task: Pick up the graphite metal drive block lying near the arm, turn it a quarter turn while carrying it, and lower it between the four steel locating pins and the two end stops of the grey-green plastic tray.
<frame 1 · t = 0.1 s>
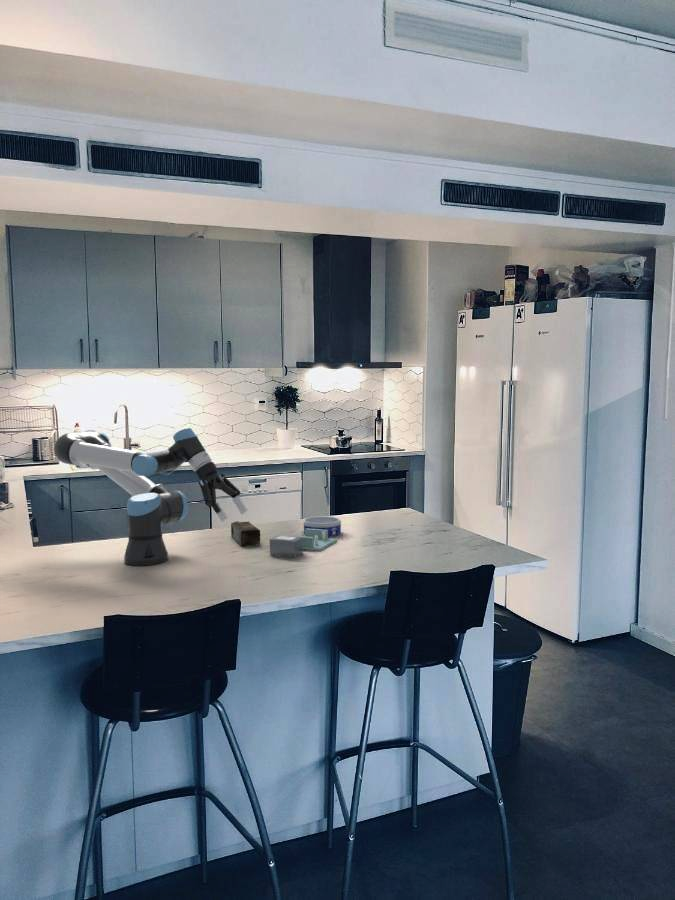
hand: (235, 516, 258), 15 cm above the countertop, tool tilted 35°, fingers open, 13 cm apart
beverage carton: (245, 541, 287), on the countertop
drive: (286, 554, 265), on the countertop
pin tray: (309, 544, 278), on the countertop
dog bowl: (322, 534, 297), on the countertop
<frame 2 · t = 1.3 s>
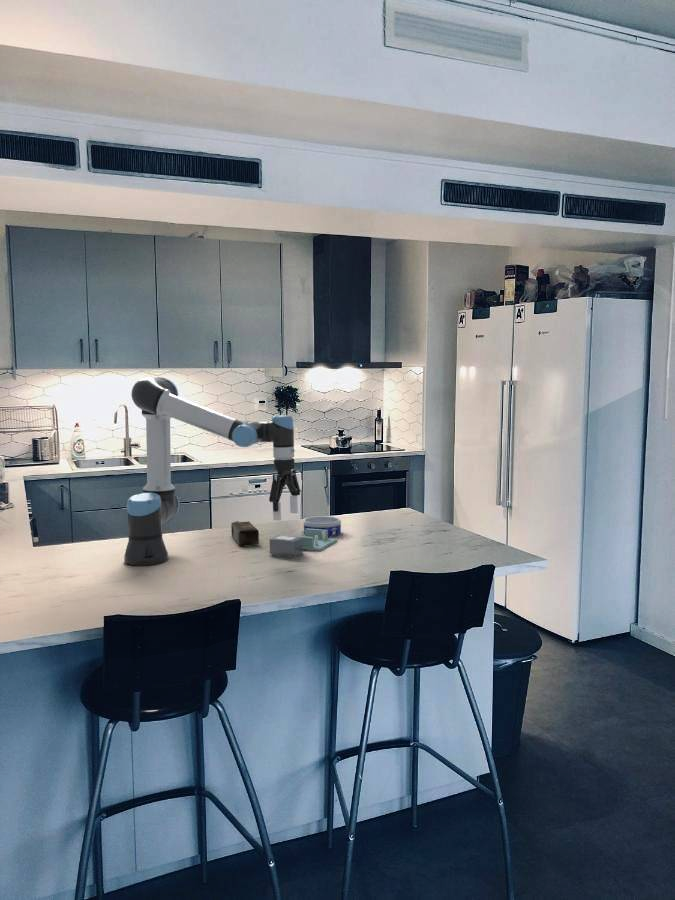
hand: (285, 516, 263), 14 cm above the countertop, tool pointing down, fingers open, 13 cm apart
nothing on the countertop moved.
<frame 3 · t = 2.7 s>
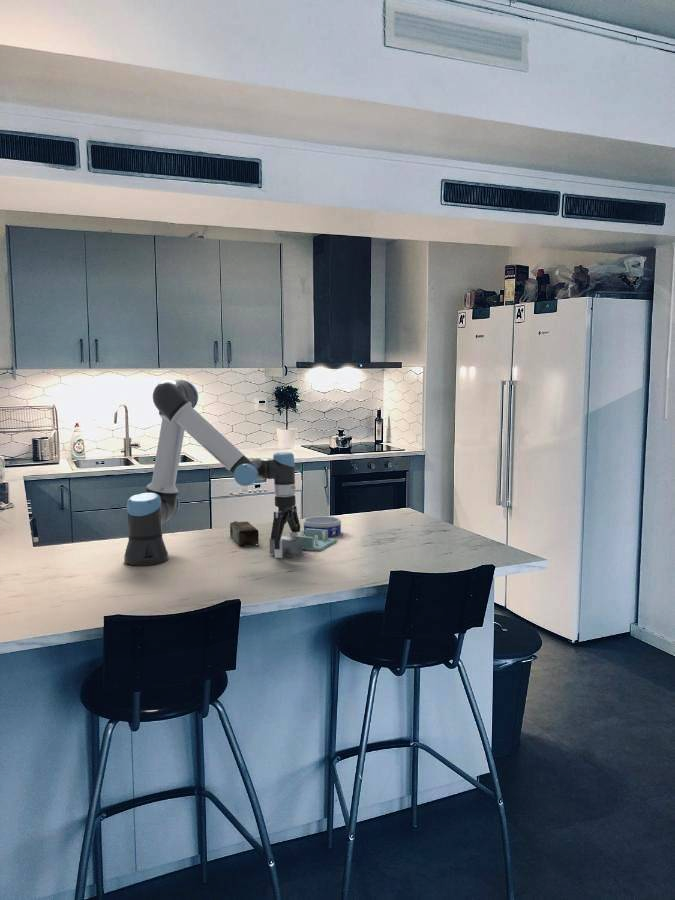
hand: (286, 553, 264), 0 cm above the countertop, tool pointing down, fingers open, 12 cm apart
nothing on the countertop moved.
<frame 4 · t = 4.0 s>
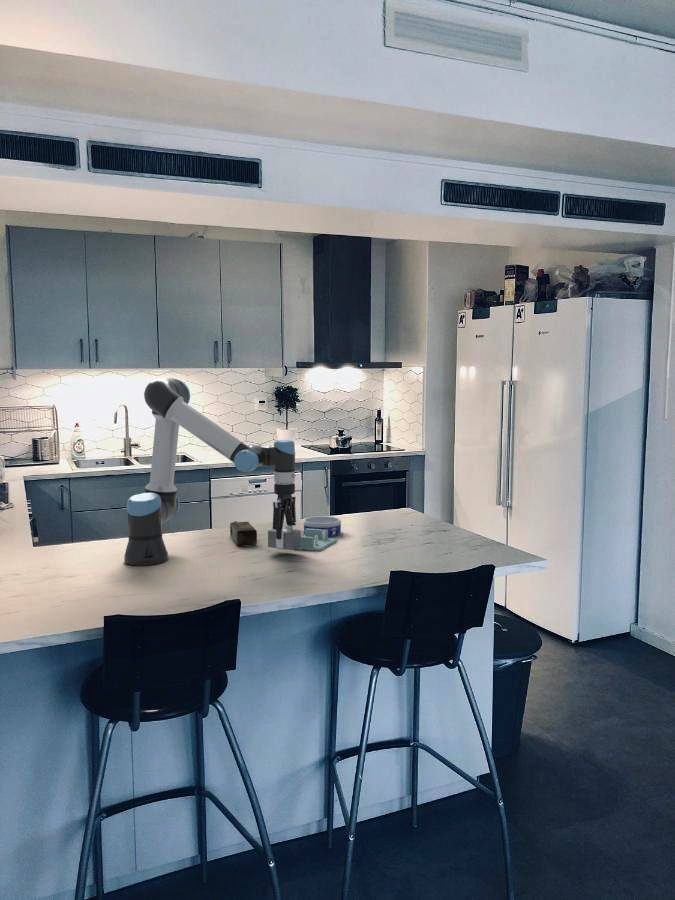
hand: (284, 545, 264), 3 cm above the countertop, tool pointing down, fingers closed on drive, 7 cm apart
drive: (284, 546, 264), point 3 cm above the countertop, touching gripper
everything else where it was.
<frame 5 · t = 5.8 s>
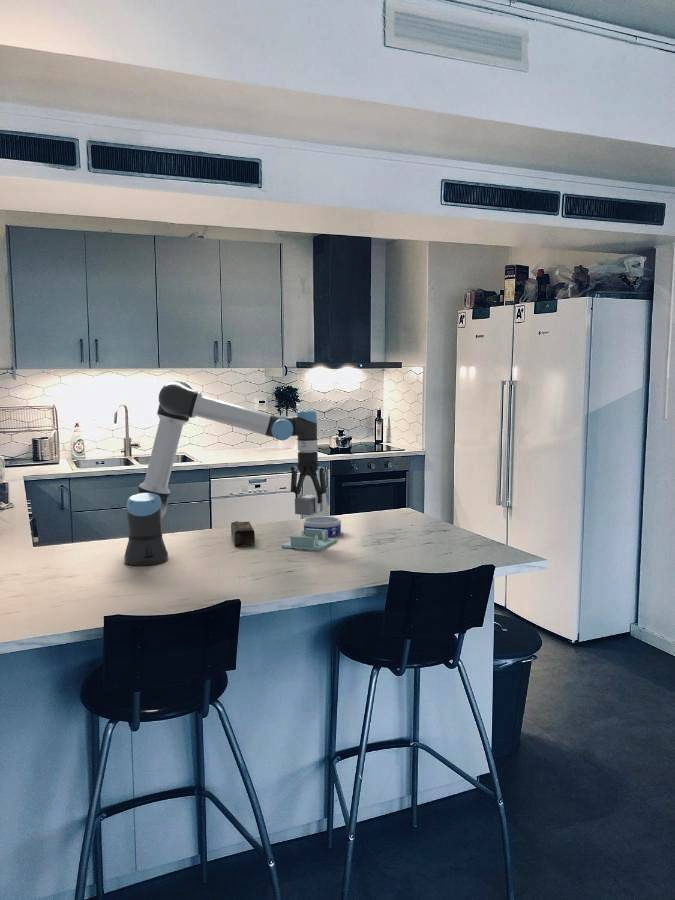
hand: (308, 511, 277), 13 cm above the countertop, tool pointing down, fingers closed on drive, 7 cm apart
drive: (308, 512, 277), point 13 cm above the countertop, touching gripper
when the fingers open (1 cm above the countertop, at t = 7.8 s): drive stays where it is, resting on pin tray.
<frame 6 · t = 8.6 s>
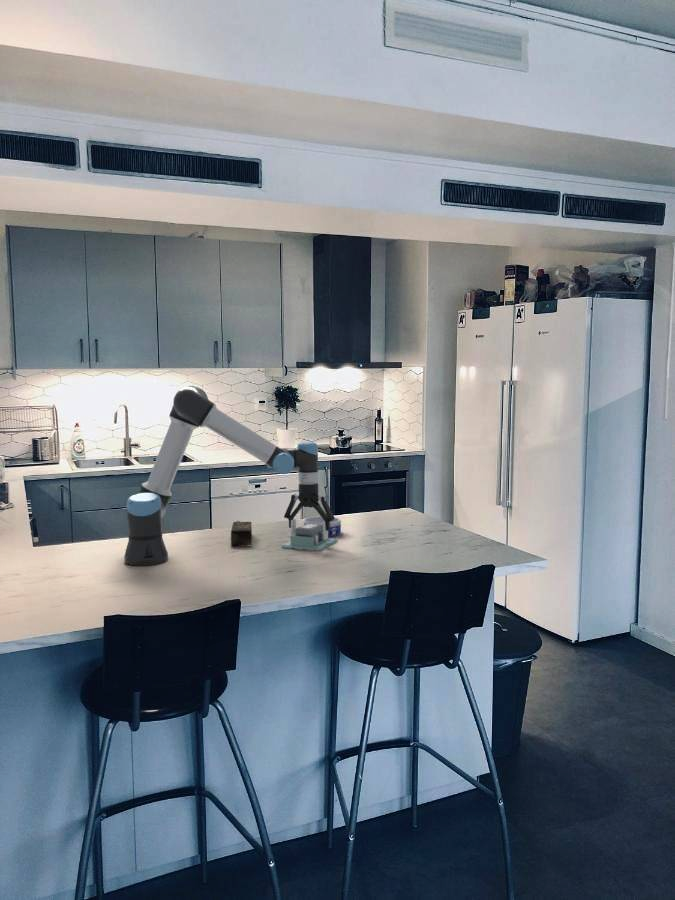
hand: (309, 537, 278), 3 cm above the countertop, tool pointing down, fingers open, 13 cm apart
drive: (309, 541, 278), point 1 cm above the countertop, touching pin tray
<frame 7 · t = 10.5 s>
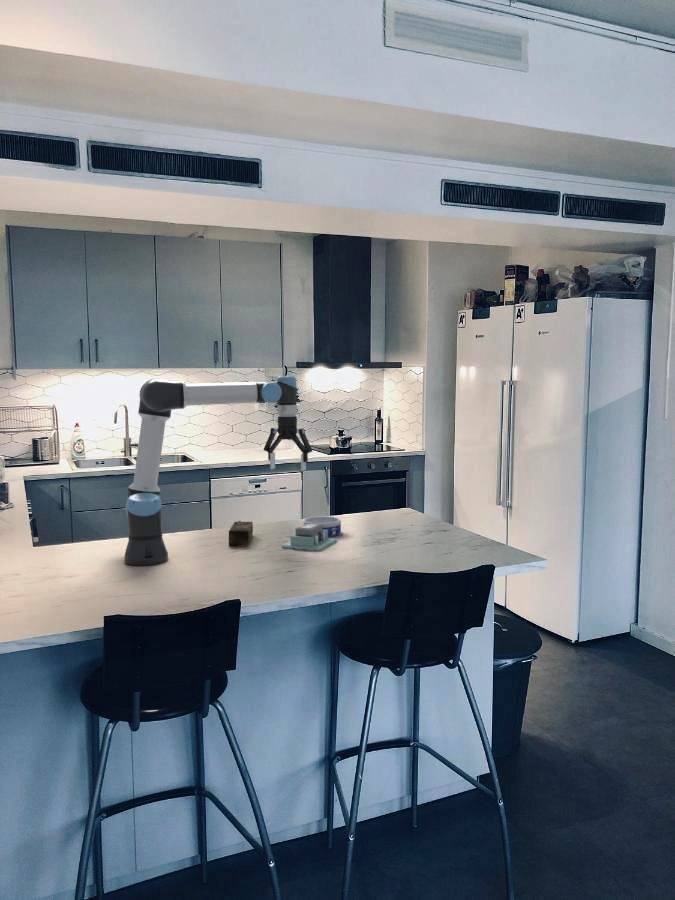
hand: (288, 469, 285), 28 cm above the countertop, tool pointing down, fingers open, 13 cm apart
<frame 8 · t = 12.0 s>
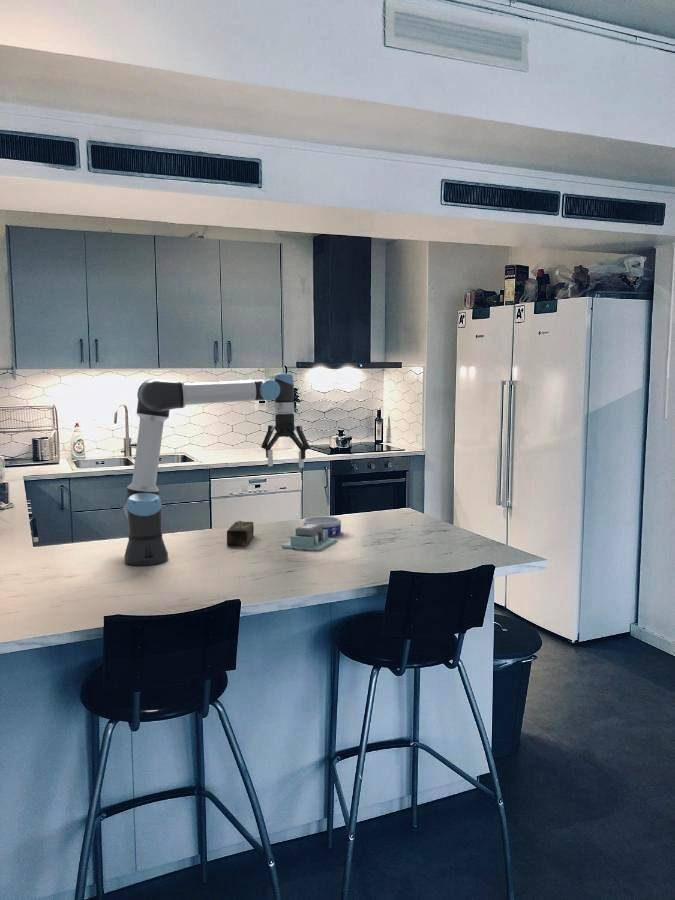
hand: (285, 466, 287), 29 cm above the countertop, tool pointing down, fingers open, 13 cm apart
at the end: drive 0.0 cm off-centre on the pin tray, point 1.0 cm above the pin tray's base; drive tilted 0°; the gripper is holding nothing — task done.
